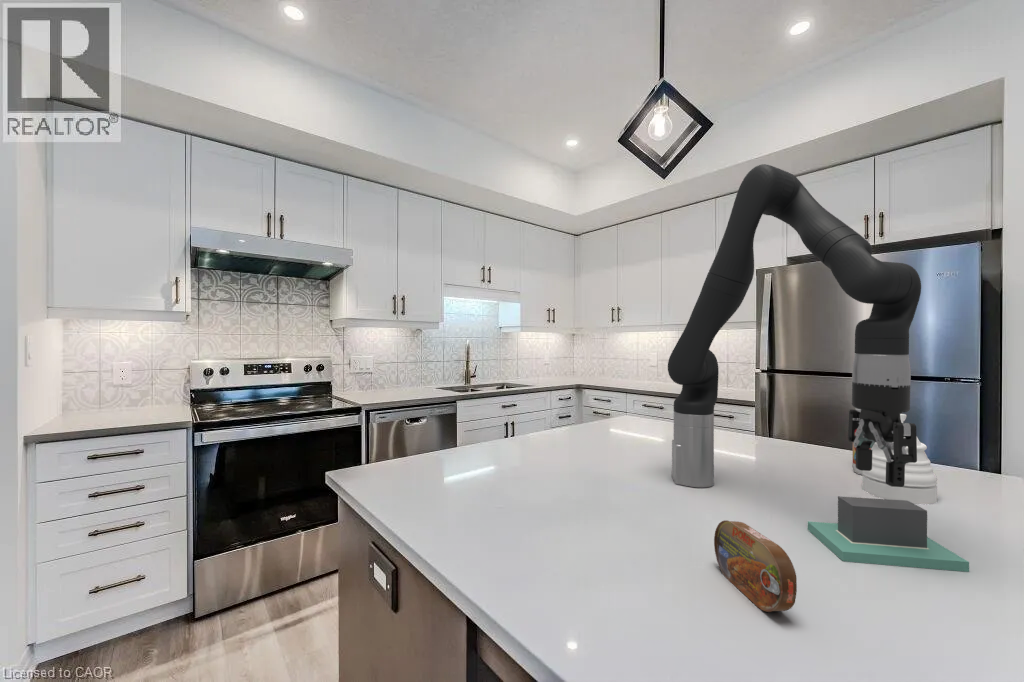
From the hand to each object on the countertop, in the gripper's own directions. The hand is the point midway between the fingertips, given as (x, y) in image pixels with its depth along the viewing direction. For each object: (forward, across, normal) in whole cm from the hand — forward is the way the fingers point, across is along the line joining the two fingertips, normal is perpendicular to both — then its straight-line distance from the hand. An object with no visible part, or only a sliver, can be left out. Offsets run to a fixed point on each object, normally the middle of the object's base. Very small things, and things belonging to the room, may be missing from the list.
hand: (878, 477), depth 75 cm
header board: (+12, 0, 0) cm, 12 cm away
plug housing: (+10, 0, 0) cm, 10 cm away
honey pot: (+12, -31, +21) cm, 39 cm away
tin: (+12, +18, -25) cm, 33 cm away
